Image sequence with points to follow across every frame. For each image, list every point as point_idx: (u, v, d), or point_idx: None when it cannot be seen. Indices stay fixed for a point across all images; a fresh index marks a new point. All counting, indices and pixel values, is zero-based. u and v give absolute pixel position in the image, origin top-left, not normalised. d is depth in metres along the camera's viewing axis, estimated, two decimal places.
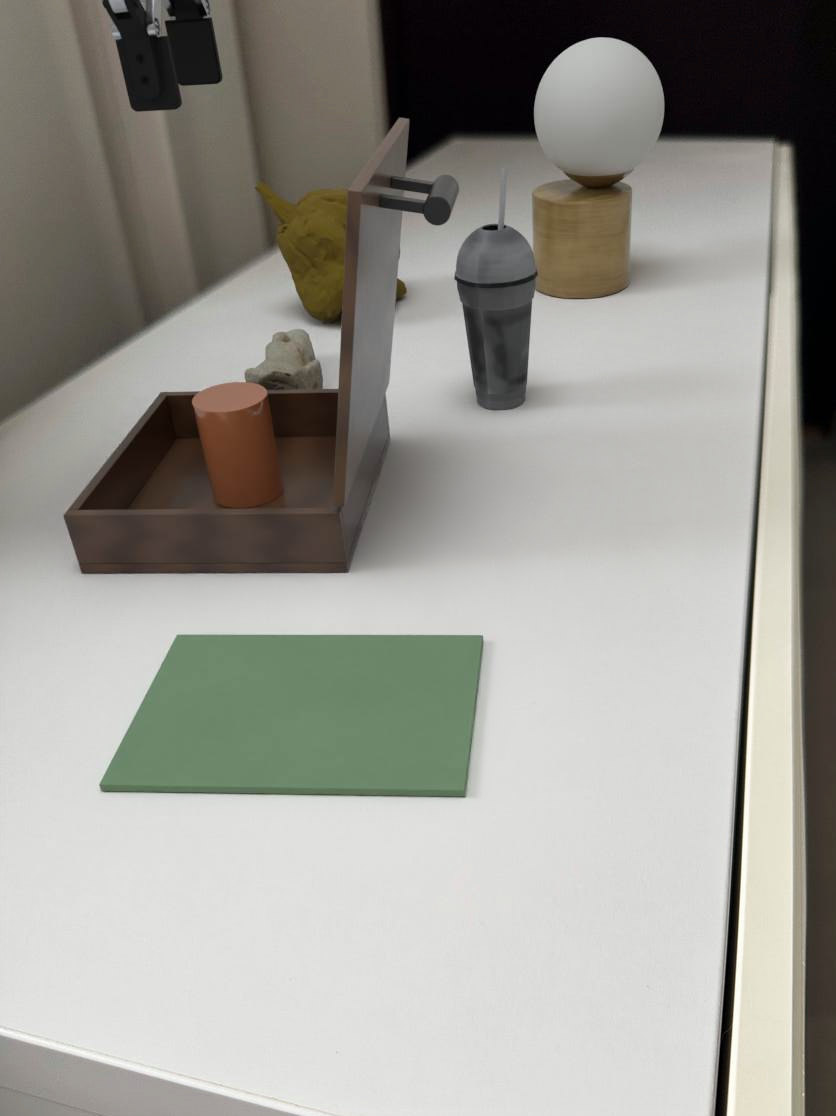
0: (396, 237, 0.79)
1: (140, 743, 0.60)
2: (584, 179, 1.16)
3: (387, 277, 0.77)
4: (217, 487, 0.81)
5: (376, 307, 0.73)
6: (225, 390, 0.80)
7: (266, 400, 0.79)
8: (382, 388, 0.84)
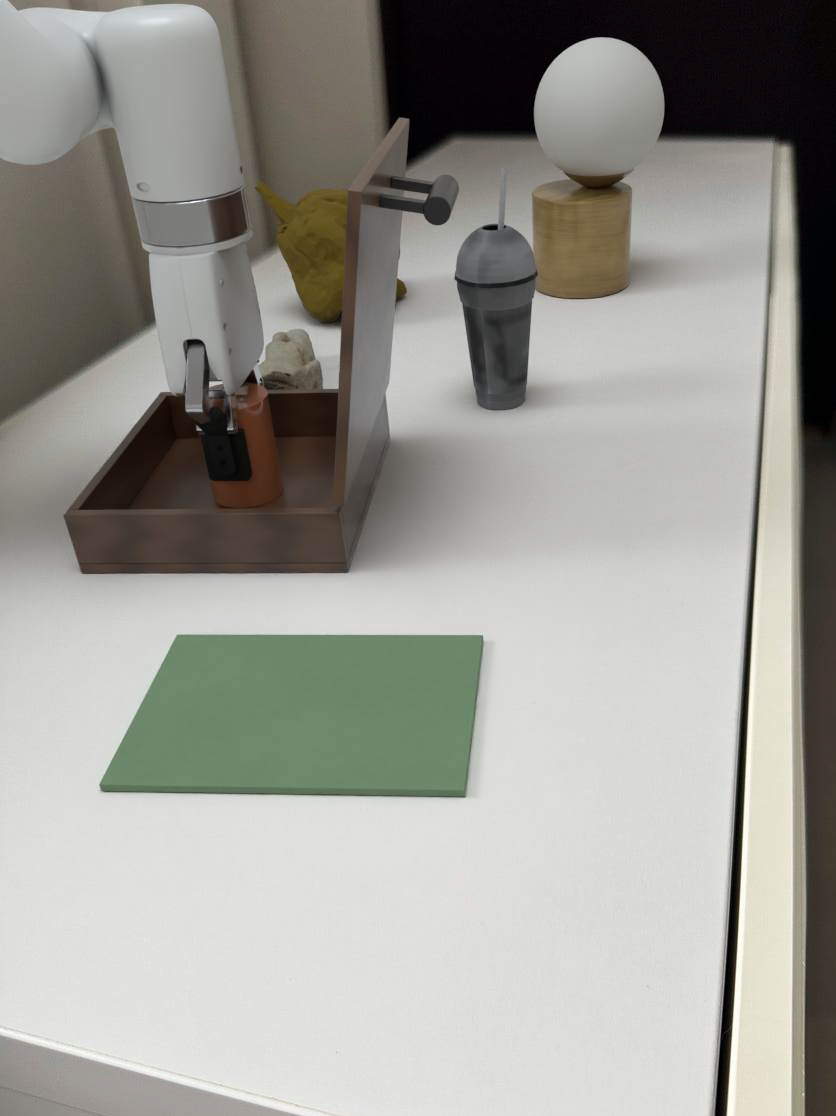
0: (396, 237, 0.79)
1: (140, 743, 0.60)
2: (584, 179, 1.16)
3: (387, 277, 0.77)
4: (217, 487, 0.81)
5: (376, 307, 0.73)
6: None
7: (266, 400, 0.79)
8: (382, 388, 0.84)
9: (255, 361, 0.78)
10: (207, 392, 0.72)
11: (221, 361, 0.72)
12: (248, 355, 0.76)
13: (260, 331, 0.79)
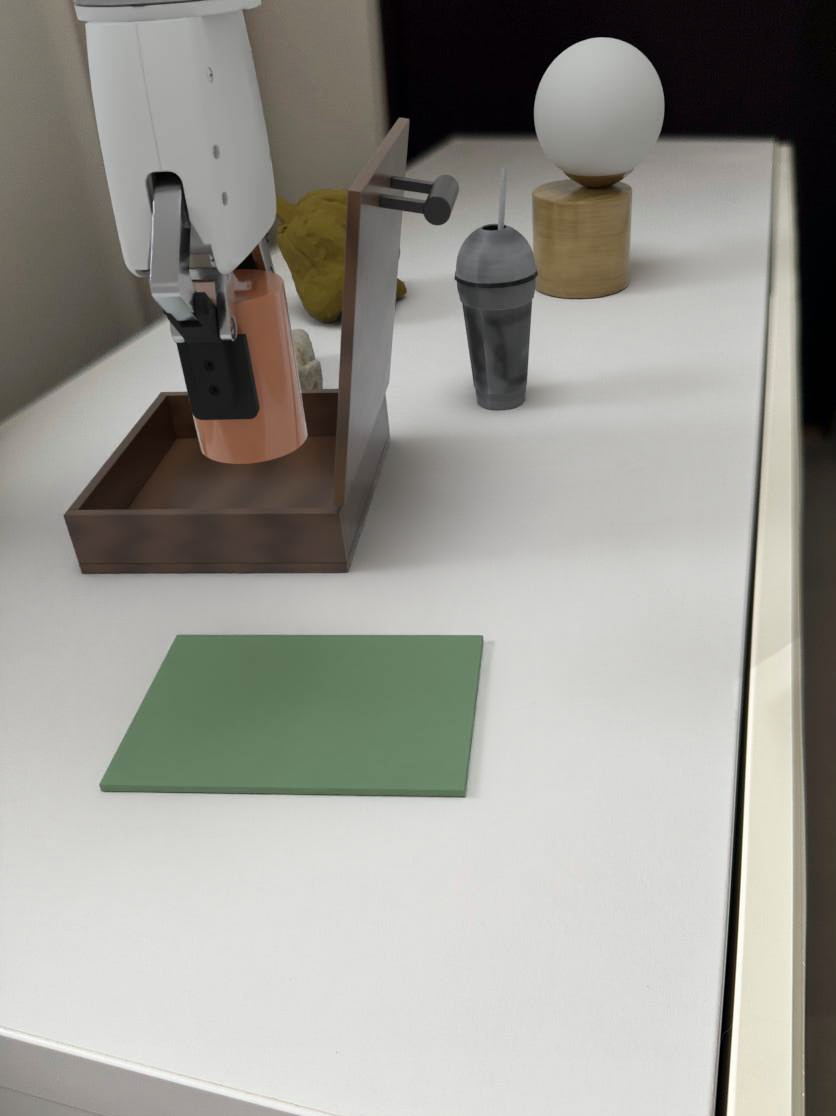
0: (396, 237, 0.79)
1: (140, 743, 0.60)
2: (584, 179, 1.16)
3: (387, 277, 0.77)
4: (206, 431, 0.52)
5: (376, 307, 0.73)
6: None
7: (282, 292, 0.50)
8: (382, 388, 0.84)
9: (264, 231, 0.50)
10: (186, 264, 0.44)
11: (210, 211, 0.44)
12: (253, 215, 0.48)
13: (271, 186, 0.51)
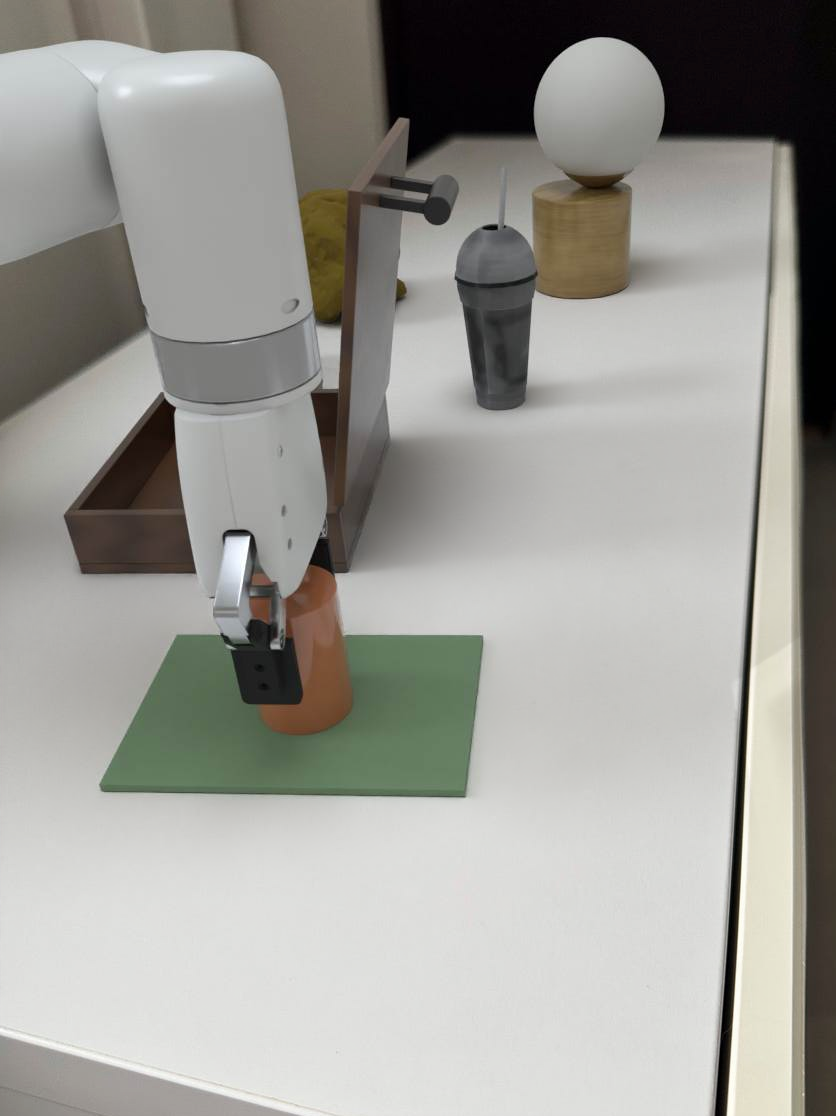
0: (396, 237, 0.79)
1: (140, 743, 0.60)
2: (584, 179, 1.16)
3: (387, 277, 0.77)
4: (266, 708, 0.59)
5: (376, 307, 0.73)
6: None
7: (336, 596, 0.57)
8: (382, 388, 0.84)
9: (318, 535, 0.57)
10: (247, 594, 0.49)
11: (277, 557, 0.50)
12: (310, 534, 0.54)
13: (323, 491, 0.57)
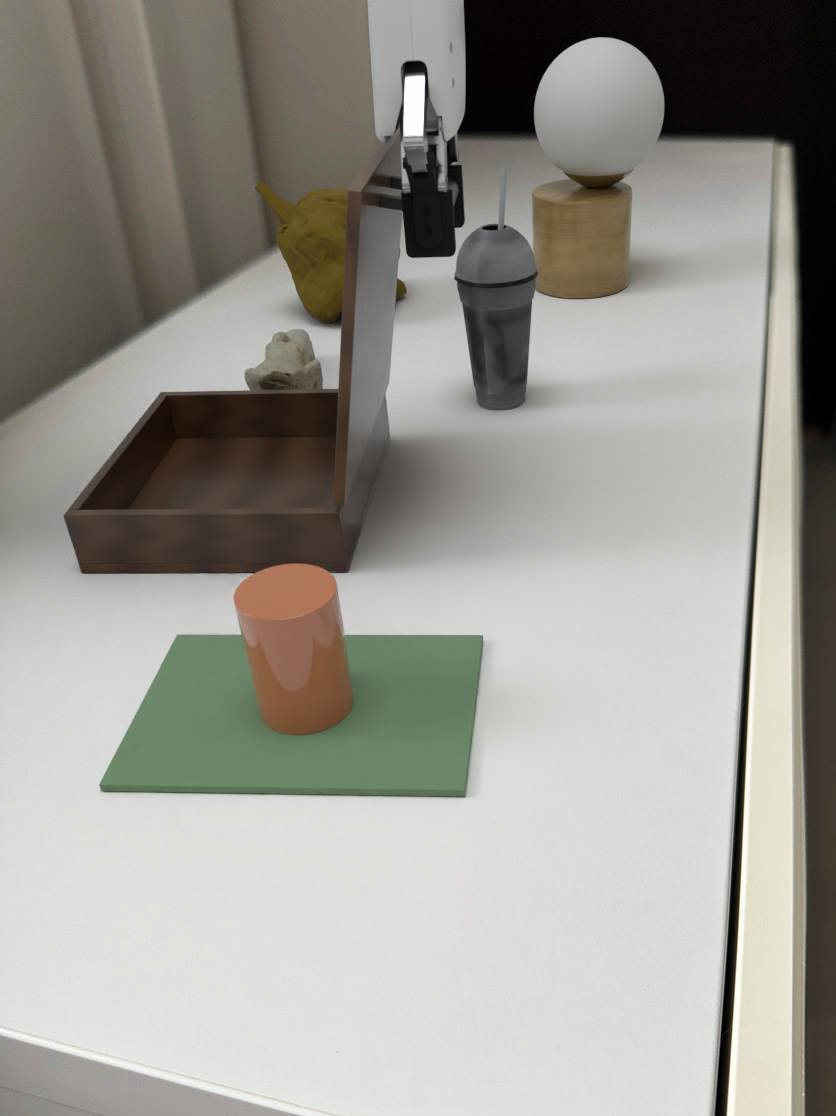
0: (396, 237, 0.79)
1: (140, 743, 0.60)
2: (584, 179, 1.16)
3: (387, 277, 0.77)
4: (266, 708, 0.59)
5: (376, 307, 0.73)
6: (279, 578, 0.58)
7: (336, 596, 0.57)
8: (382, 388, 0.84)
9: (462, 116, 0.68)
10: (426, 127, 0.61)
11: (444, 90, 0.61)
12: (461, 101, 0.65)
13: (465, 85, 0.68)
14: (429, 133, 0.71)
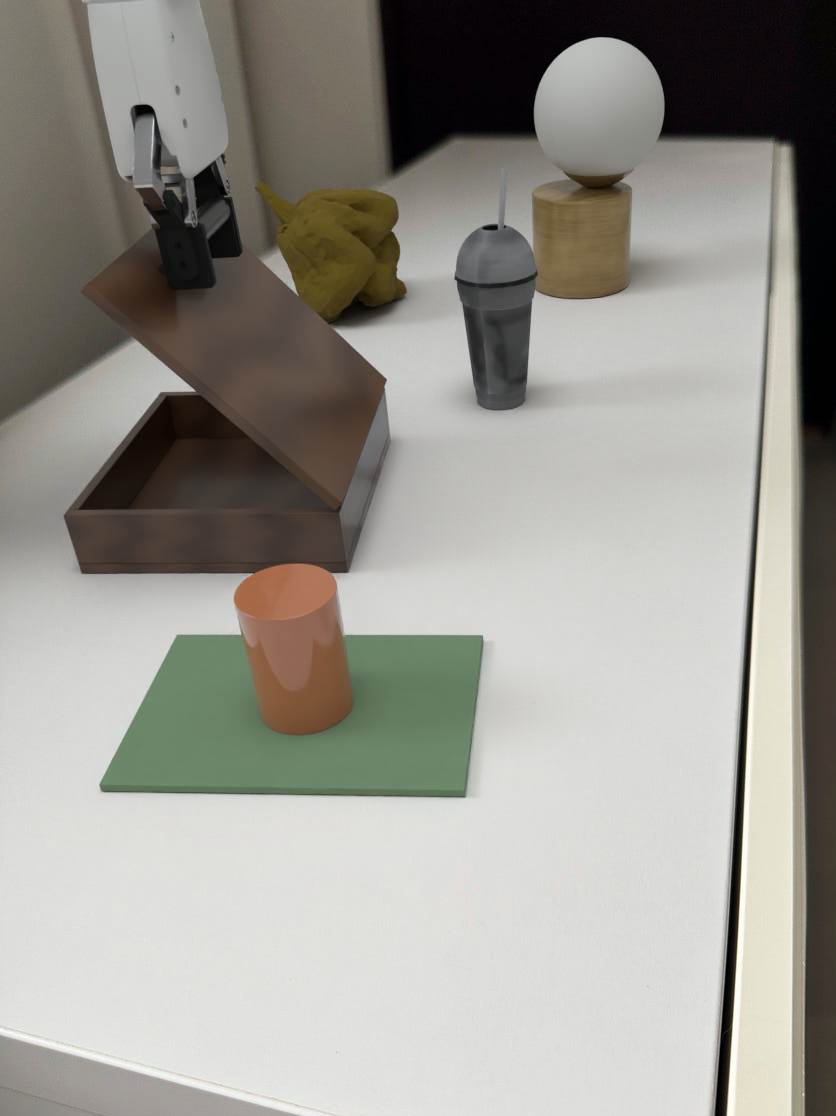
0: (261, 278, 0.82)
1: (140, 743, 0.60)
2: (584, 179, 1.16)
3: (267, 312, 0.79)
4: (266, 708, 0.59)
5: (256, 341, 0.75)
6: (279, 578, 0.58)
7: (336, 596, 0.57)
8: (366, 389, 0.84)
9: (218, 152, 0.70)
10: (158, 167, 0.64)
11: (174, 131, 0.64)
12: (208, 138, 0.68)
13: (223, 121, 0.71)
14: None
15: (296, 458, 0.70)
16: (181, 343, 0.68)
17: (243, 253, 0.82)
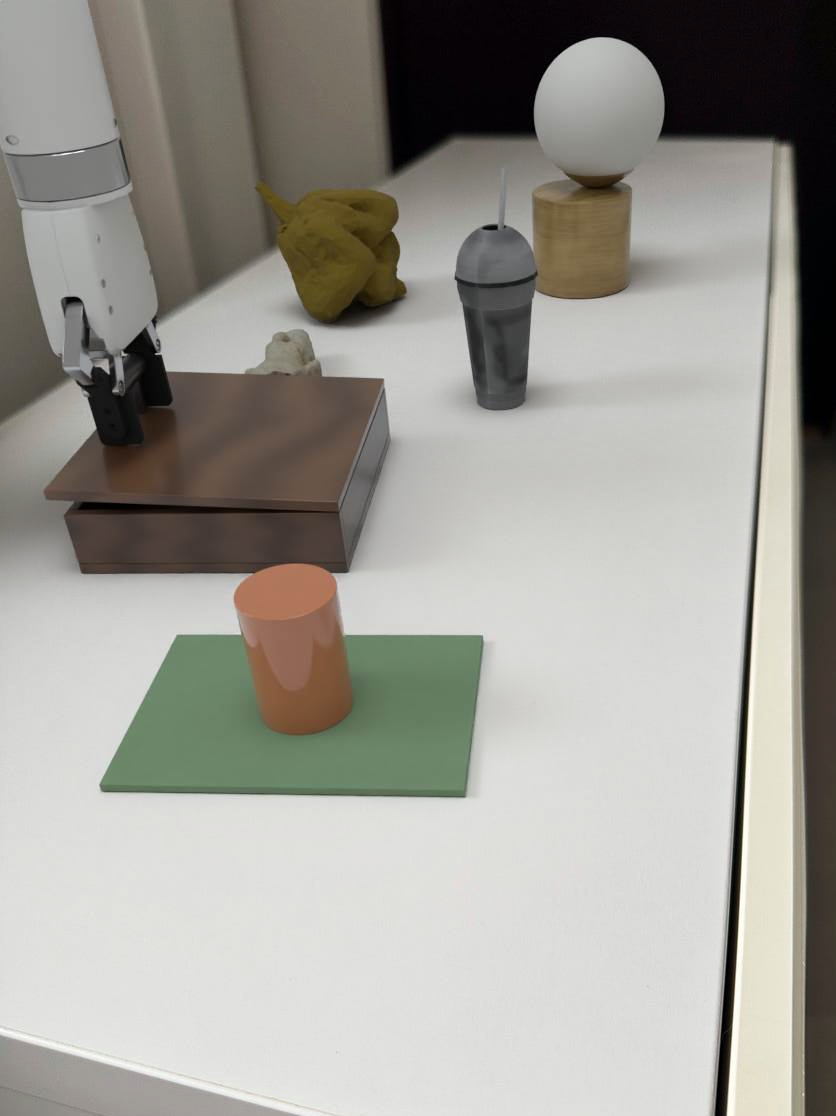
0: (226, 385, 0.87)
1: (140, 743, 0.60)
2: (584, 179, 1.16)
3: (235, 405, 0.84)
4: (266, 708, 0.59)
5: (224, 433, 0.80)
6: (279, 578, 0.58)
7: (336, 596, 0.57)
8: (357, 399, 0.85)
9: (146, 322, 0.77)
10: (86, 350, 0.71)
11: (101, 319, 0.71)
12: (135, 315, 0.75)
13: (152, 292, 0.78)
14: None
15: (278, 495, 0.72)
16: (142, 479, 0.74)
17: (205, 378, 0.88)
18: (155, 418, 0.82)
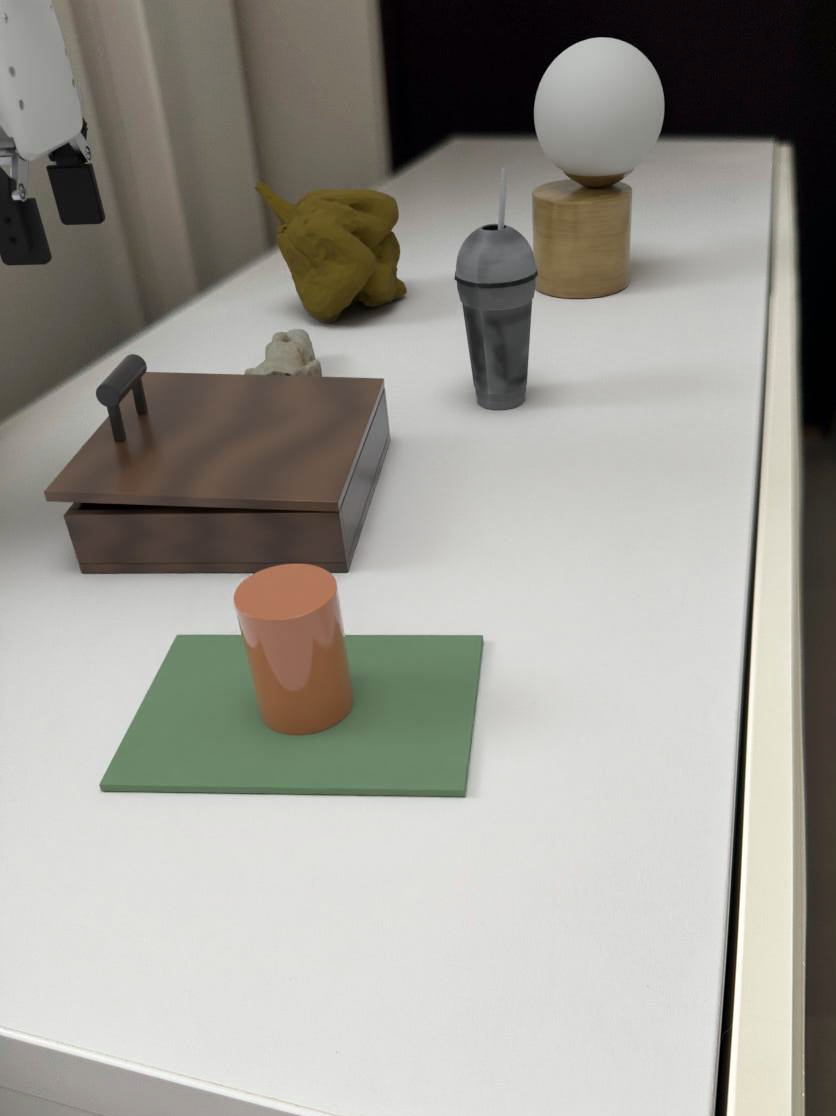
0: (226, 386, 0.87)
1: (140, 743, 0.60)
2: (584, 179, 1.16)
3: (236, 406, 0.84)
4: (266, 708, 0.59)
5: (224, 434, 0.80)
6: (279, 578, 0.58)
7: (336, 596, 0.57)
8: (357, 399, 0.85)
9: (67, 136, 0.70)
10: None
11: (10, 113, 0.64)
12: (53, 121, 0.68)
13: (75, 105, 0.71)
14: None
15: (278, 495, 0.72)
16: (142, 479, 0.74)
17: (205, 379, 0.88)
18: (155, 419, 0.82)
